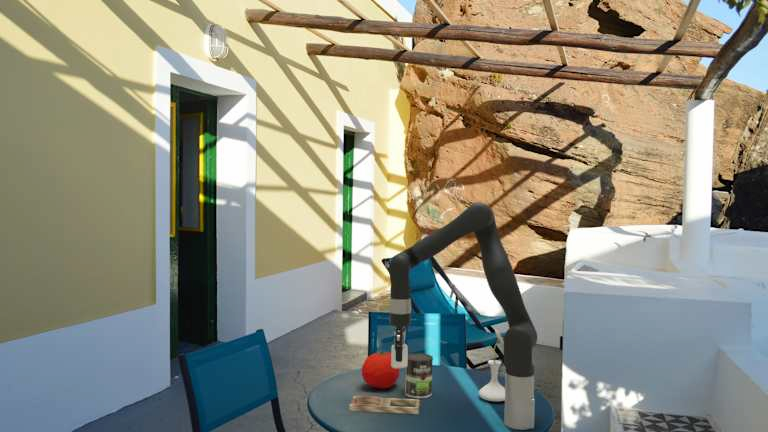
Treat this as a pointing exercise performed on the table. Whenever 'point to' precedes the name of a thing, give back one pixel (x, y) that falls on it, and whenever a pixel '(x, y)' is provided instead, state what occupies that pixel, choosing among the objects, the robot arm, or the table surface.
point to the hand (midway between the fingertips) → (399, 359)
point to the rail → (384, 405)
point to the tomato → (379, 370)
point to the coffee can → (418, 375)
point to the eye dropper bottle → (404, 357)
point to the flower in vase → (494, 379)
